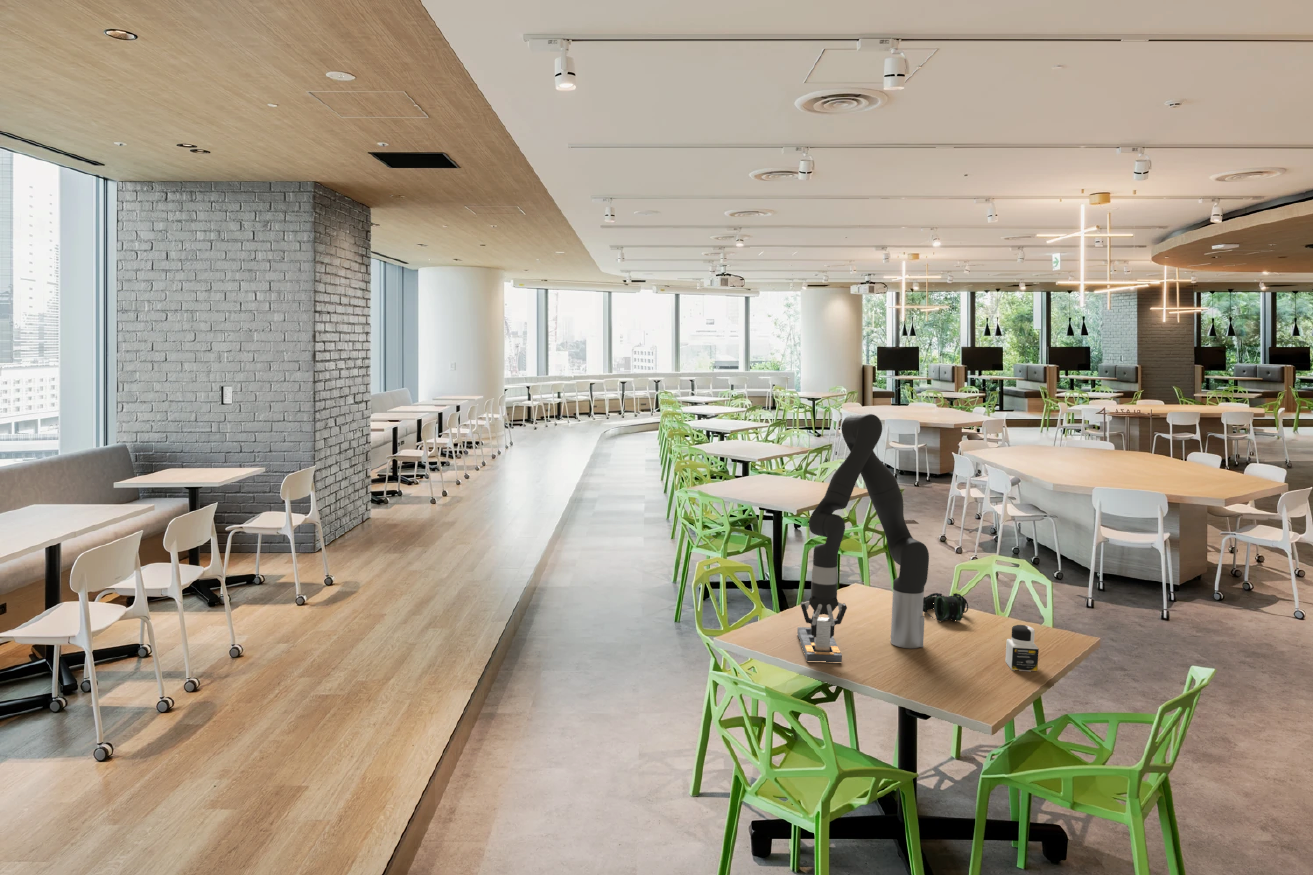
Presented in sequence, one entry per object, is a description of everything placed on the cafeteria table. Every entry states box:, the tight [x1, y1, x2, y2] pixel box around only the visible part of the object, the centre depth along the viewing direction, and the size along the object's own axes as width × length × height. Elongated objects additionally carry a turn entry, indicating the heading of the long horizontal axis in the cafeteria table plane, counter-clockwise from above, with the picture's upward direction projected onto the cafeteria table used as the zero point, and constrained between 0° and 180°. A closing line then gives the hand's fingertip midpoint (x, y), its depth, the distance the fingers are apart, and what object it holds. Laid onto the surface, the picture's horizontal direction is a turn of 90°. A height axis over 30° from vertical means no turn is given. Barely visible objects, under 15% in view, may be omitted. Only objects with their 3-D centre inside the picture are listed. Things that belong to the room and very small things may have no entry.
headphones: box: [923, 592, 969, 622], centre depth 295 cm, size 13×13×20 cm
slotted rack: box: [796, 626, 843, 662], centre depth 260 cm, size 10×25×3 cm, turn 177°
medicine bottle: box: [1005, 624, 1040, 672], centre depth 247 cm, size 7×7×12 cm
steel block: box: [814, 616, 831, 652], centre depth 252 cm, size 4×4×9 cm
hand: (822, 636), depth 252 cm, fingers closed on steel block, 4 cm apart
